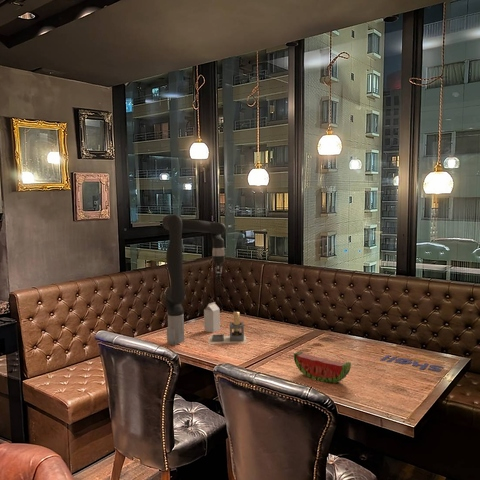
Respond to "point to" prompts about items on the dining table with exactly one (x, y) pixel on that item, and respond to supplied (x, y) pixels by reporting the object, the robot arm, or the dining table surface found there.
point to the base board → (226, 340)
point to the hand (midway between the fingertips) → (219, 280)
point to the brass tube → (236, 323)
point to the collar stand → (231, 333)
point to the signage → (415, 363)
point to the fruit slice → (321, 367)
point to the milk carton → (212, 318)
